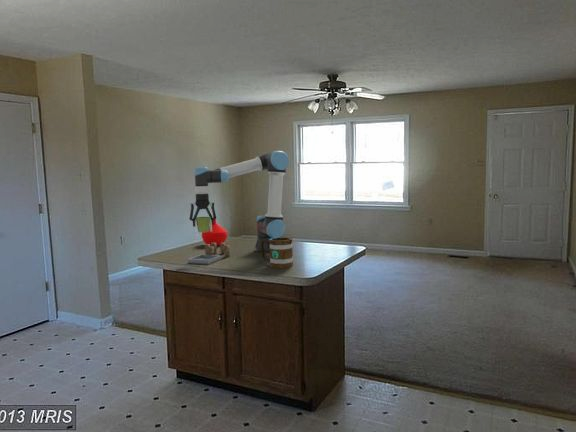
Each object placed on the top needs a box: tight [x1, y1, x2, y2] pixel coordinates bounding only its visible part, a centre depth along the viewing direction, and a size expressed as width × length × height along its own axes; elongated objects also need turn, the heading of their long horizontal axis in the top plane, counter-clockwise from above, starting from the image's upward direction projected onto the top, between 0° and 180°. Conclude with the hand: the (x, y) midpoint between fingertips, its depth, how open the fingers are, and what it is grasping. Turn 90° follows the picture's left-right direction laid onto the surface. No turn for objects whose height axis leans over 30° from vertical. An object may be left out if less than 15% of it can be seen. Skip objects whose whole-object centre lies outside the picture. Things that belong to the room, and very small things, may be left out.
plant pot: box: [195, 216, 211, 234], centre depth 268 cm, size 9×9×9 cm
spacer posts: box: [204, 242, 231, 258], centre depth 284 cm, size 17×17×7 cm
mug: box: [261, 236, 294, 269], centre depth 253 cm, size 20×14×15 cm
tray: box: [187, 253, 222, 265], centre depth 269 cm, size 14×14×2 cm
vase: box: [201, 218, 228, 247], centre depth 324 cm, size 18×18×19 cm
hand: (203, 231), depth 268 cm, fingers closed on plant pot, 8 cm apart
